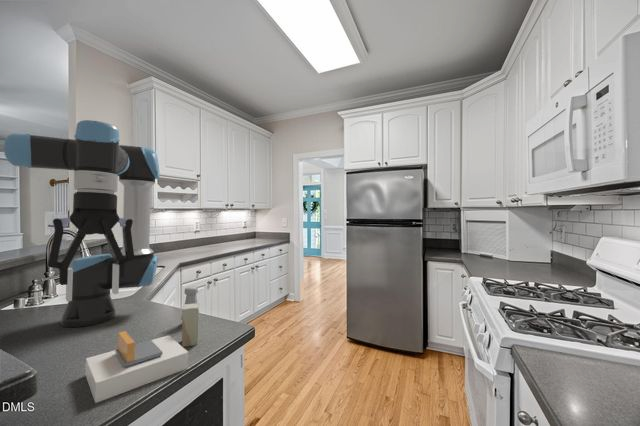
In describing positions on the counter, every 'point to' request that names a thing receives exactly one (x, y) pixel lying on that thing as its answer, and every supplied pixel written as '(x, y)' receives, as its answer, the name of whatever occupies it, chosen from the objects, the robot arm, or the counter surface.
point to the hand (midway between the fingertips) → (93, 295)
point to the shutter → (135, 350)
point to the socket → (133, 369)
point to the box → (190, 324)
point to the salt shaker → (191, 296)
